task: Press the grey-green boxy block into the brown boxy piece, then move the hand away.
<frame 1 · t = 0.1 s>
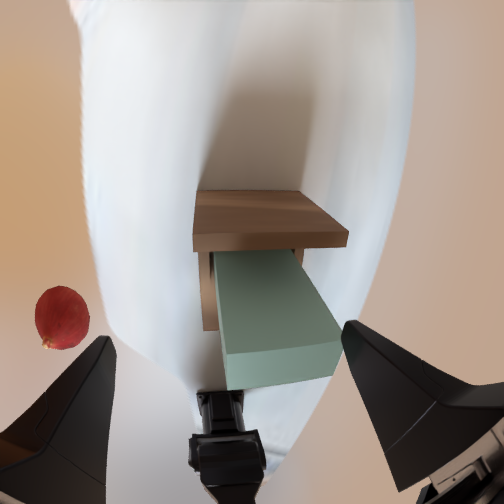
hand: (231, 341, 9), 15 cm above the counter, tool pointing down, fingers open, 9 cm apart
brown boxy piece: (246, 265, 25), on the counter
grey-green boxy block: (263, 299, 18), point 7 cm above the counter, slide at 0.0 cm
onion: (75, 293, 24), on the counter
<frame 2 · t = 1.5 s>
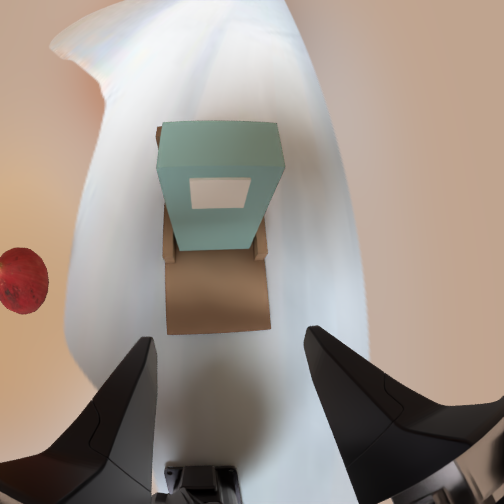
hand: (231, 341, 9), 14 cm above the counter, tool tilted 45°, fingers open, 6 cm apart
brown boxy piece: (214, 254, 24), on the counter
grey-green boxy block: (215, 201, 18), point 7 cm above the counter, slide at 0.0 cm
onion: (42, 289, 21), on the counter
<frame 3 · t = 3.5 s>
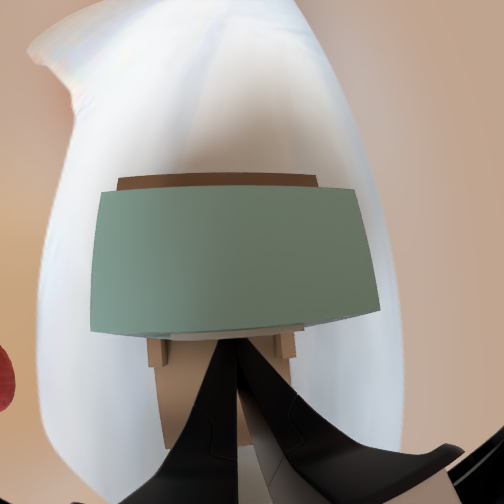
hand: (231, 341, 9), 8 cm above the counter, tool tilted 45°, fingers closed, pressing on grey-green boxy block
brown boxy piece: (219, 346, 17), on the counter
grey-green boxy block: (222, 300, 11), point 7 cm above the counter, slide at 0.6 cm, touching gripper
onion: (11, 372, 13), on the counter
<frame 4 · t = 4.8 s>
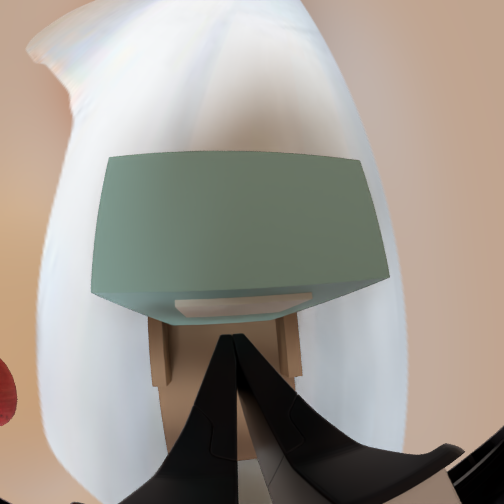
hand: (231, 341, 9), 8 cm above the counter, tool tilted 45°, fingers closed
brown boxy piece: (224, 362, 17), on the counter
grey-green boxy block: (226, 280, 11), point 7 cm above the counter, slide at 2.5 cm
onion: (12, 383, 13), on the counter
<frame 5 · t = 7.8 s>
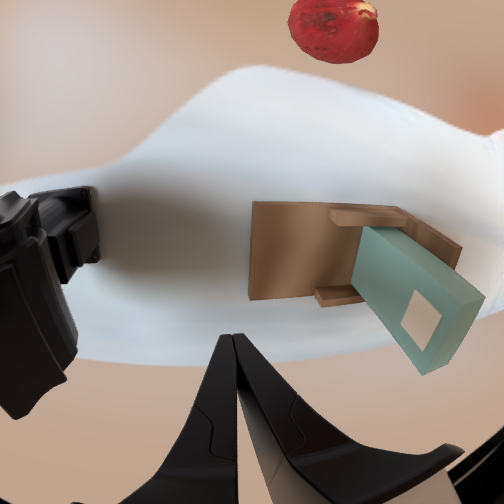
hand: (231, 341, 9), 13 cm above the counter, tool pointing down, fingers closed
brown boxy piece: (327, 248, 24), on the counter
grey-green boxy block: (407, 289, 18), point 7 cm above the counter, slide at 2.5 cm
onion: (311, 39, 15), on the counter
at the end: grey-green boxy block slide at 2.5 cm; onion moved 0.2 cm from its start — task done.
